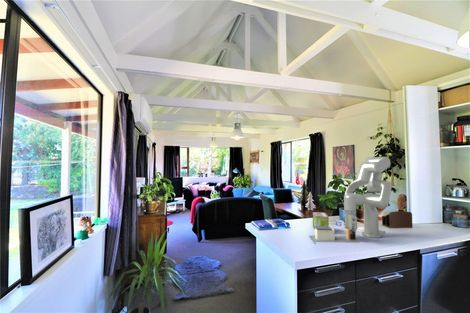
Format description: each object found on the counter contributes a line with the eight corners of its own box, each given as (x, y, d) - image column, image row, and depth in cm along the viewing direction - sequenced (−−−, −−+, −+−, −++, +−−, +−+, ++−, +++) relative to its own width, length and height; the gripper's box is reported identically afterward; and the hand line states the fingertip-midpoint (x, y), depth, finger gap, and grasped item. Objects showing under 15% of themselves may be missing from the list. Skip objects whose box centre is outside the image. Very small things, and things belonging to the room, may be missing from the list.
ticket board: (350, 237, 168) (350, 225, 168) (360, 244, 154) (359, 230, 154) (309, 237, 169) (309, 224, 170) (314, 243, 155) (314, 230, 156)
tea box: (329, 236, 172) (328, 216, 173) (315, 235, 174) (314, 215, 175) (325, 230, 187) (325, 212, 187) (312, 229, 189) (312, 211, 189)
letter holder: (412, 228, 192) (412, 211, 193) (390, 228, 191) (389, 211, 192) (403, 225, 202) (403, 209, 203) (381, 225, 201) (381, 209, 202)
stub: (353, 238, 163) (352, 228, 163) (355, 240, 159) (355, 230, 159) (345, 238, 163) (345, 228, 163) (348, 240, 159) (348, 229, 159)
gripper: (361, 215, 153) (362, 242, 152) (350, 209, 170) (350, 234, 169) (350, 215, 153) (350, 242, 152) (339, 209, 170) (340, 234, 170)
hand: (350, 237), depth 161 cm, fingers open, 6 cm apart
